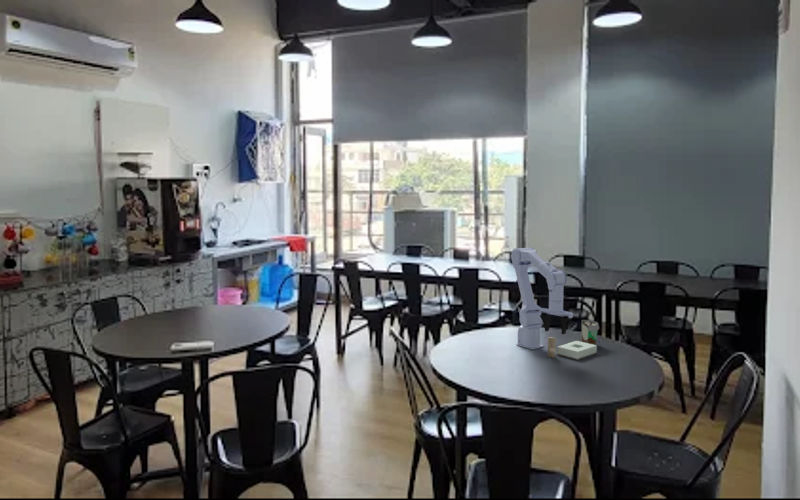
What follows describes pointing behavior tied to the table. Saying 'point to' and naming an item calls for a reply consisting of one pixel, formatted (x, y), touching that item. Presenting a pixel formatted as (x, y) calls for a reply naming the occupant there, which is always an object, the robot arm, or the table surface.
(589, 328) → the food container
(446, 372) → the table surface
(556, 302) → the robot arm
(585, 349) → the socket block
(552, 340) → the peg
